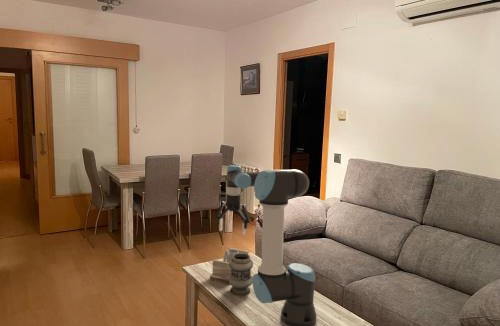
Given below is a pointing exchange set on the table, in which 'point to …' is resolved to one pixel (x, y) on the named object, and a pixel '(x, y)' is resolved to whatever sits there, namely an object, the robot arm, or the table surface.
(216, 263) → the shelf
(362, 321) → the table surface
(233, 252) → the mug
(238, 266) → the apothecary jar
